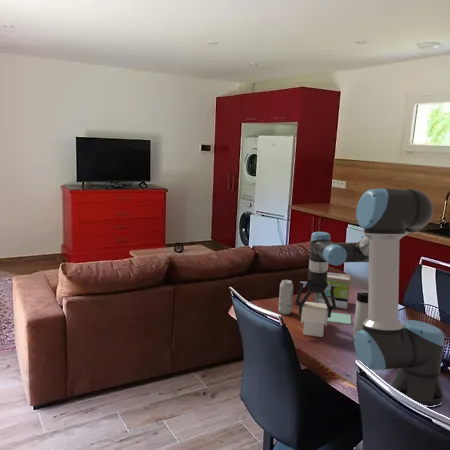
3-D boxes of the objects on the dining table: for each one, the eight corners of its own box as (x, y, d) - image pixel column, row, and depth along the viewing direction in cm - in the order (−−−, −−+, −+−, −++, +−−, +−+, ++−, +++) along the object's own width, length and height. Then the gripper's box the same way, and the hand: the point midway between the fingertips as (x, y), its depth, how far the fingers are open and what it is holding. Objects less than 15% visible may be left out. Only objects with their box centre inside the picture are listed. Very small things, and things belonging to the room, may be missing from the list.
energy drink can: (290, 315, 203) (292, 284, 201) (277, 313, 205) (278, 282, 203) (292, 311, 209) (294, 280, 206) (279, 309, 211) (281, 278, 208)
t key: (338, 312, 192) (341, 277, 189) (327, 318, 186) (330, 281, 183) (318, 306, 199) (321, 272, 196) (307, 311, 192) (310, 276, 189)
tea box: (315, 305, 219) (317, 275, 216) (317, 298, 228) (319, 270, 226) (347, 309, 215) (350, 279, 212) (348, 302, 224) (350, 274, 221)
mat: (351, 324, 196) (351, 323, 196) (325, 321, 199) (325, 320, 198) (350, 315, 206) (350, 314, 206) (326, 312, 209) (326, 311, 209)
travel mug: (358, 344, 176) (363, 295, 173) (349, 337, 183) (354, 290, 179) (372, 343, 178) (377, 295, 174) (363, 336, 184) (368, 289, 181)
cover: (325, 324, 180) (326, 310, 178) (302, 321, 182) (303, 307, 181) (326, 317, 187) (327, 304, 186) (303, 314, 189) (304, 301, 188)
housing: (322, 337, 182) (324, 322, 181) (303, 334, 184) (304, 320, 183) (324, 322, 197) (325, 309, 196) (305, 320, 199) (306, 306, 198)
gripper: (345, 270, 181) (341, 323, 185) (291, 265, 187) (288, 316, 191) (346, 275, 174) (341, 330, 178) (290, 269, 179) (286, 323, 183)
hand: (314, 323), depth 184 cm, fingers closed on cover, 9 cm apart
